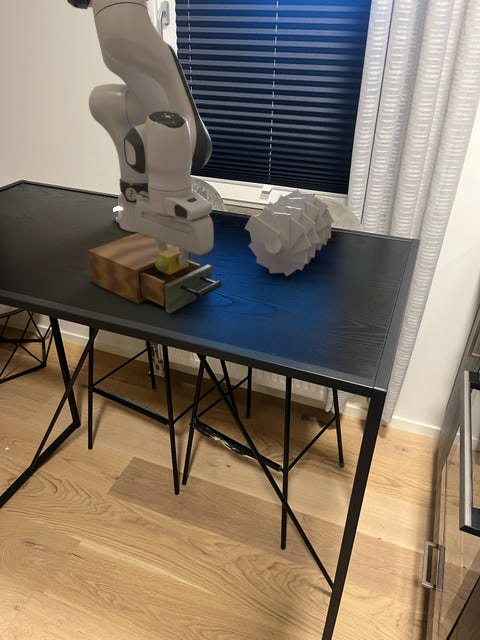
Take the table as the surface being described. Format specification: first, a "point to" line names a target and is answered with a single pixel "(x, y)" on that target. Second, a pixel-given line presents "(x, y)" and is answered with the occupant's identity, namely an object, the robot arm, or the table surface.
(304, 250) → the spiral staircase
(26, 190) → the table surface
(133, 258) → the cabinet
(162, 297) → the drawer
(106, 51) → the robot arm
